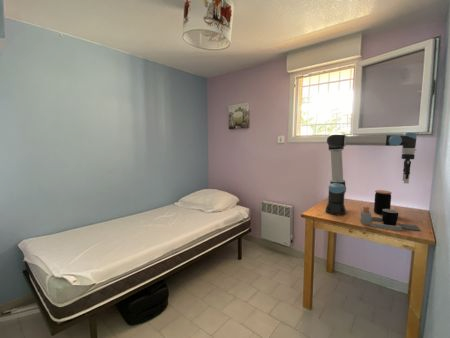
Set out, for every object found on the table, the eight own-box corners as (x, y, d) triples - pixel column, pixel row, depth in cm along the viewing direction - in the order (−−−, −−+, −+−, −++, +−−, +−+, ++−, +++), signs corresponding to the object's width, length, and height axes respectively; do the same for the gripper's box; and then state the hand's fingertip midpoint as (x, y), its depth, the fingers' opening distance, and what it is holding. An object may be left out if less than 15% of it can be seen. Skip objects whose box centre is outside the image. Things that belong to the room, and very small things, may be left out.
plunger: (362, 214, 160) (363, 207, 160) (362, 213, 164) (362, 206, 163) (369, 215, 158) (370, 208, 158) (369, 213, 162) (369, 207, 161)
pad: (401, 229, 149) (401, 228, 149) (398, 224, 158) (398, 223, 158) (421, 231, 144) (421, 230, 144) (416, 226, 153) (416, 225, 153)
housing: (361, 225, 156) (362, 214, 155) (360, 218, 170) (360, 208, 169) (401, 230, 146) (402, 218, 145) (396, 223, 160) (397, 212, 159)
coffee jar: (392, 216, 175) (394, 193, 173) (377, 215, 177) (378, 192, 175) (385, 211, 185) (387, 190, 183) (371, 211, 187) (372, 189, 185)
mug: (386, 221, 162) (387, 208, 161) (400, 226, 154) (401, 211, 153) (375, 224, 157) (376, 210, 156) (389, 229, 149) (390, 214, 148)
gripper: (416, 154, 155) (413, 185, 157) (412, 153, 175) (410, 180, 178) (403, 154, 159) (400, 183, 162) (400, 152, 179) (398, 179, 182)
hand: (405, 182), depth 170 cm, fingers open, 13 cm apart
